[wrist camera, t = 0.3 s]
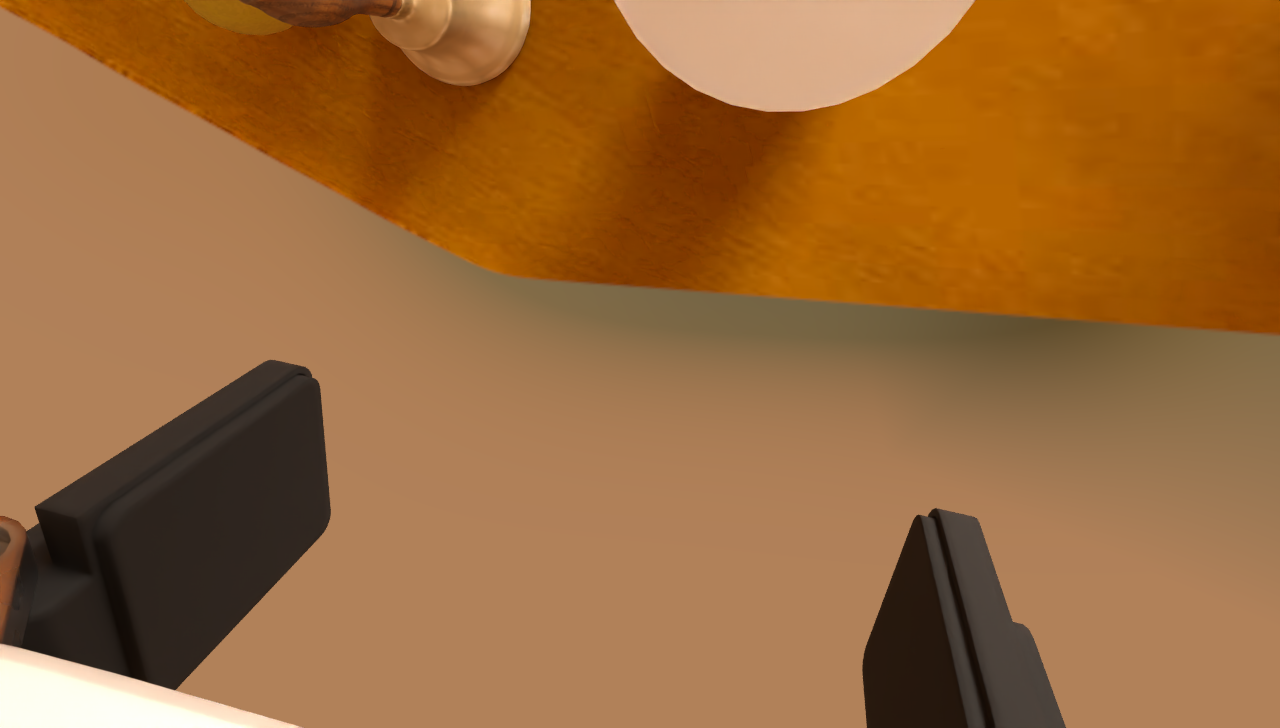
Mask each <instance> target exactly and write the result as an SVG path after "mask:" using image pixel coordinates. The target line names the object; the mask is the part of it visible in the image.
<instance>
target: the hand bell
mask: <svg viewBox="0 0 1280 728" xmlns="http://www.w3.org/2000/svg"><path fill="white" fill-rule="evenodd" d="M239 1H240V2H242V3H244V4H246V5H251V6H253V7H255V8H257V9H260V10H261V11H263V12H264V13H266V14H267V15H269V16H271V17H273V18H275V19H277V20H279V21H281V22H284V23H287V24H290V25H294V26H302V27H324V26H331V25H334V24H338V23H341V22H343V21H345V20H347V19H348V18H350V17H351V16H353V15H355V14H365V15H369V16H370V18H371V21H372V22H373V24H374V26H375V27H376V29H377V30H378V31H379V32H380V33H381V35H382V36H384V37H385V38H386V39H387V40H388V41H389V42H391V43H392V44H394V45H396V46H398V47H400V48H401V49H402V51H403V52H404V53H405V55H406V56H407V57H408V58H409V59H410V60H411V61H412V62H413V63H414V64H415V65H416V66H417V67H418V68H419V69H420V70H422V71H423V72H425V73H426V74H428V75H429V76H431V77H433V78H435V79H437V80H439V81H442V82H445V83H448V84H452V85H459V86H471V85H477V84H481V83H484V82H486V81H489V80H491V79H493V78H495V77H497V76H498V75H499V74H501V73H502V72H503V71H505V70H506V69H507V68H508V67H509V65H510V64H511V63H512V62H513V61H514V60H515V58H516V57H517V56H518V54H519V52H520V50H521V48H522V46H523V43H524V41H525V38H526V35H527V31H528V28H529V23H530V13H531V7H530V6H531V1H530V0H239Z"/></svg>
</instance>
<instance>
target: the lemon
mask: <svg viewBox="0 0 1280 728" xmlns="http://www.w3.org/2000/svg"><path fill="white" fill-rule="evenodd" d="M184 1H185V2H186V3H187V4H188V5H189V6H190V7H191V8H192V9H193V10H194V11H195V12H196V13H197V14H198V15H200V16H201V17H203V18H204V19H206V20H207V21H209V22H211V23H212V24H214V25H217V26H219V27H222V28H225V29H227V30H230V31H233V32H236V33H240V34H249V35H269V34H274V33H277V32H281V31H284V30H287V29H289V28H290V27H292V26H293V25H290V24H287V23H284V22H281V21H279V20H277V19H275V18H273V17H271V16H269V15H267V14H266V13H264V12H263V11H261V10H260V9H257V8H255V7H253V6H251V5H246V4H244V3H242V2H240V1H239V0H184Z"/></svg>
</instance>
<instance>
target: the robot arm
mask: <svg viewBox="0 0 1280 728" xmlns="http://www.w3.org/2000/svg"><path fill="white" fill-rule="evenodd" d="M35 510H36V513H37V517H38V520H39V524H37V525H35V526H34V527H33V528H31V529H29V530H28V531H26V529H25V528H24V527H23V526H22V525H21V524H20V523H19V522H18V521H16V520H13V519H10V518H8V517H5V516H0V728H303V727H299V726H296V725H292V724H289V723H285V722H282V721H279V720H275V719H271V718H268V717H265V716H261V715H258V714H254V713H251V712H247V711H244V710H241V709H237V708H234V707H230V706H227V705H223V704H220V703H216V702H213V701H209V700H206V699H202V698H199V697H195V696H192V695H188V694H185V693H182V692H178V691H175V690H176V689H177V688H178V687H179V686H180V684H181V683H182V682H183V681H184V680H185V679H186V678H187V677H188V676H189V675H190V674H191V673H192V672H193V671H194V669H196V668H197V667H198V665H199V664H200V663H201V662H202V661H203V660H204V659H205V658H206V657H207V656H208V655H209V654H210V653H211V652H212V651H213V650H214V649H215V647H216V646H217V645H218V644H219V643H220V642H221V641H222V640H223V639H224V638H225V637H226V636H227V635H228V634H229V633H230V631H232V629H233V628H234V627H235V626H236V625H237V624H238V623H239V622H240V621H241V620H242V619H243V618H244V617H245V616H246V615H247V614H248V613H249V611H250V610H251V609H252V608H253V607H254V606H255V605H256V604H257V603H258V602H259V601H260V600H261V599H262V598H263V596H265V594H266V593H267V592H268V591H269V590H270V589H271V588H272V587H273V586H274V585H275V584H276V583H277V582H278V581H279V580H280V578H281V577H282V576H283V575H284V574H285V573H286V572H287V571H288V570H289V569H290V568H291V567H292V566H293V565H294V564H295V563H296V562H297V561H298V560H299V558H300V557H301V556H302V555H303V554H304V553H305V552H306V551H307V550H308V549H309V548H310V547H311V546H312V545H313V544H314V542H315V541H316V540H317V539H318V538H319V537H320V536H321V535H322V534H323V533H324V531H325V529H326V528H327V526H328V523H329V520H330V514H331V509H330V498H329V486H328V474H327V462H326V452H325V440H324V428H323V416H322V405H321V393H320V386H319V383H318V381H317V380H316V379H314V378H312V374H311V372H310V371H309V369H307V368H306V367H302V366H298V365H294V364H289V363H285V362H280V361H276V360H268V361H266V362H264V363H262V364H261V365H259V366H257V367H256V368H254V369H252V370H251V371H249V372H248V373H246V374H244V375H243V376H241V377H240V378H238V379H237V380H235V381H234V382H232V383H230V384H229V385H227V386H225V387H224V388H222V389H221V390H219V391H218V392H216V393H214V394H213V395H211V396H210V397H208V398H207V399H205V400H204V401H202V402H200V403H199V404H197V405H196V406H194V407H192V408H191V409H189V410H187V411H186V412H184V413H183V414H181V415H179V416H178V417H177V418H175V419H173V420H172V421H170V422H168V423H167V424H165V425H164V426H162V427H161V428H159V429H158V430H156V431H154V432H153V433H151V434H149V435H148V436H146V437H145V438H143V439H142V440H140V441H138V442H137V443H135V444H133V445H132V446H130V447H129V448H127V449H126V450H124V451H122V452H121V453H119V454H118V455H116V456H115V457H113V458H111V459H110V460H108V461H107V462H105V463H103V464H102V465H100V466H99V467H97V468H96V469H94V470H92V471H91V472H89V473H88V474H86V475H84V476H83V477H81V478H80V479H78V480H77V481H75V482H73V483H72V484H70V485H69V486H67V487H65V488H64V489H62V490H61V491H59V492H57V493H56V494H54V495H53V496H51V497H49V498H48V499H46V500H45V501H43V502H42V503H40V504H38V505H37V506H35ZM863 684H864V696H865V709H866V721H867V728H1066V727H1065V724H1064V721H1063V718H1062V716H1061V713H1060V710H1059V707H1058V705H1057V702H1056V699H1055V696H1054V694H1053V691H1052V688H1051V686H1050V682H1049V680H1048V677H1047V674H1046V671H1045V669H1044V666H1043V663H1042V661H1041V658H1040V655H1039V652H1038V649H1037V647H1036V644H1035V641H1034V638H1033V637H1032V635H1031V633H1030V631H1029V629H1028V628H1027V627H1025V626H1024V625H1023V624H1019V623H1015V622H1013V621H1012V619H1011V616H1010V613H1009V610H1008V607H1007V604H1006V601H1005V598H1004V595H1003V592H1002V589H1001V586H1000V583H999V580H998V577H997V574H996V571H995V568H994V565H993V562H992V559H991V556H990V553H989V550H988V547H987V544H986V542H985V538H984V535H983V532H982V529H981V526H980V523H979V522H978V520H977V518H975V517H972V516H967V515H964V514H959V513H955V512H950V511H946V510H941V509H937V508H935V509H933V510H932V511H931V512H930V513H929V515H928V517H926V516H922V515H917V516H916V517H915V519H914V520H913V523H912V525H911V528H910V530H909V533H908V536H907V538H906V541H905V544H904V546H903V549H902V552H901V554H900V557H899V560H898V563H897V565H896V568H895V570H894V573H893V576H892V578H891V581H890V584H889V586H888V589H887V592H886V594H885V597H884V600H883V602H882V605H881V608H880V610H879V613H878V616H877V618H876V621H875V624H874V626H873V630H872V632H871V635H870V637H869V640H868V642H867V645H866V648H865V653H864V659H863Z"/></svg>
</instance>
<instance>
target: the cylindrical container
mask: <svg viewBox="0 0 1280 728" xmlns="http://www.w3.org/2000/svg"><path fill="white" fill-rule="evenodd" d="M614 1H615V3H616V5H617V7H618V8H619V10H620V11H621V13H622V15H623V16H624V18H625V20H626V21H627V23H628V25H629V26H630V28H631V29H632V31H633V33H634V34H635V36H636V38H637V39H638V40H639V41H640V42H641V43H642V44H643V45H644V46H645V47H646V48H647V50H648V51H649V52H650V53H651V54H652V55H653V56H654V57H655V58H656V59H657V60H658V62H659V63H660V64H661V65H662V66H663V67H664V68H666V69H667V70H668V71H670V72H671V73H673V74H674V75H675V76H677V77H678V78H680V79H681V80H682V81H684V82H685V83H687V84H688V85H690V86H691V87H692V88H694V89H695V90H697V91H700V92H702V93H704V94H707V95H709V96H711V97H714V98H716V99H718V100H721V101H723V102H725V103H728V104H730V105H735V106H740V107H745V108H750V109H756V110H761V111H766V112H787V111H807V110H812V109H817V108H822V107H827V106H832V105H837V104H840V103H843V102H845V101H848V100H850V99H853V98H855V97H858V96H860V95H863V94H865V93H868V92H871V91H873V90H876V89H877V88H879V87H881V86H882V85H884V84H885V83H887V82H889V81H890V80H892V79H893V78H895V77H897V76H898V75H900V74H901V73H903V72H905V71H906V70H908V69H909V68H911V67H913V66H914V65H915V64H916V63H917V62H919V61H920V60H921V59H922V58H923V57H924V56H925V55H926V54H927V53H928V52H930V51H931V50H932V49H933V48H934V47H935V46H936V45H937V44H938V43H939V42H940V41H942V40H943V39H944V38H945V37H946V36H947V35H948V34H949V33H950V32H951V31H952V30H953V28H954V27H955V26H956V24H957V23H958V22H959V21H960V19H961V18H962V17H963V15H964V14H965V13H966V12H967V10H968V9H969V8H970V6H971V5H972V4H973V3H974V1H975V0H614Z"/></svg>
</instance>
